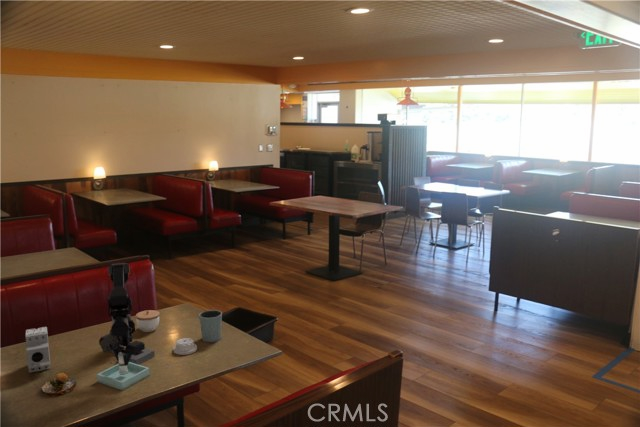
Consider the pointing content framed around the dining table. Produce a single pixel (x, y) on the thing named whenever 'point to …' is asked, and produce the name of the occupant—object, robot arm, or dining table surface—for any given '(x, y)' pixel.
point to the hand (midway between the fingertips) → (123, 364)
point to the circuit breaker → (37, 349)
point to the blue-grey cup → (211, 325)
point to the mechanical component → (185, 346)
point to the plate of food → (59, 385)
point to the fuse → (122, 365)
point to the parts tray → (123, 376)
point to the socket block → (142, 356)
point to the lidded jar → (147, 320)
